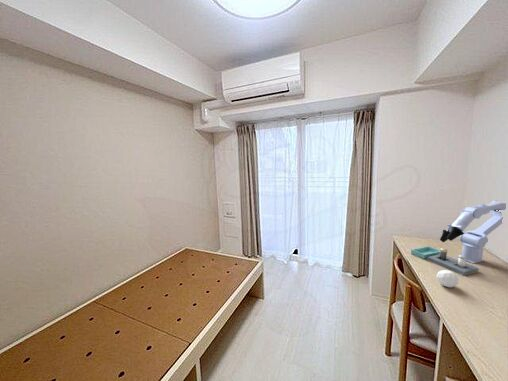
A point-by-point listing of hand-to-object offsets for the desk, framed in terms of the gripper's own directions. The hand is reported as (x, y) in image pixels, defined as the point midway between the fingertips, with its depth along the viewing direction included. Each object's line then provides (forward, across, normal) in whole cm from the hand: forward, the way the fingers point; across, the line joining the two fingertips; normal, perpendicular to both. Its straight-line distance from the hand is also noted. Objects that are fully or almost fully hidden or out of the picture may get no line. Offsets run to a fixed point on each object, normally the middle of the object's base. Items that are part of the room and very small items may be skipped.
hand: (445, 240), depth 122 cm
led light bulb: (+8, -9, +8) cm, 15 cm away
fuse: (+7, -3, +15) cm, 17 cm away
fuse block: (+8, -6, +12) cm, 15 cm away
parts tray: (+8, -16, +2) cm, 19 cm away
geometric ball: (+25, +14, +9) cm, 30 cm away
